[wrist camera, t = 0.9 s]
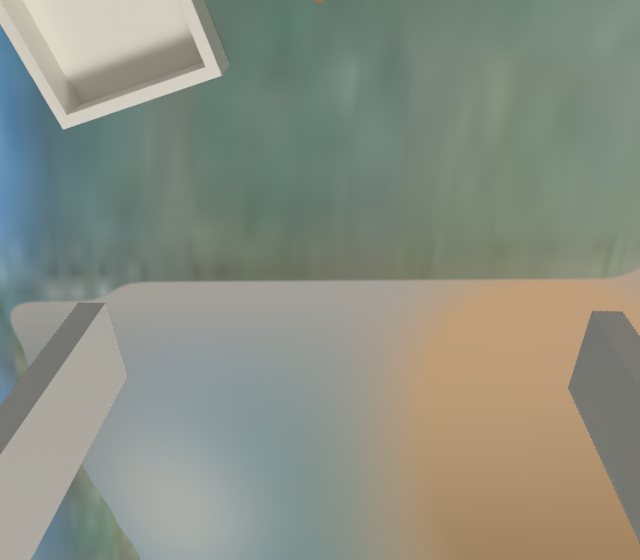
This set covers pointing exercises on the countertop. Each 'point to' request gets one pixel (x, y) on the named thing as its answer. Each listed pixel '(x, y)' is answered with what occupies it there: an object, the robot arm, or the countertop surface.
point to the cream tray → (112, 51)
